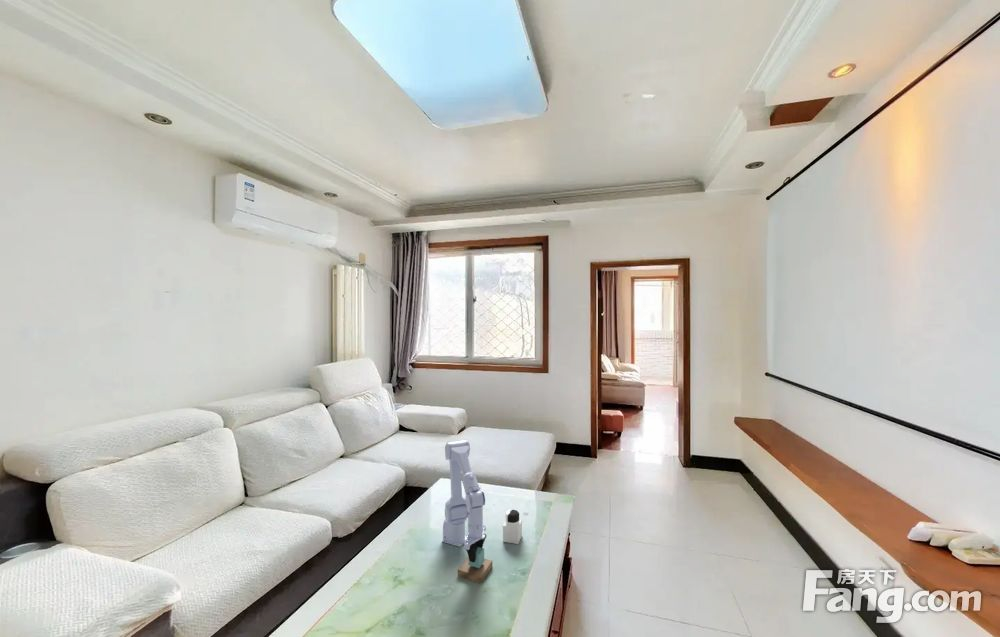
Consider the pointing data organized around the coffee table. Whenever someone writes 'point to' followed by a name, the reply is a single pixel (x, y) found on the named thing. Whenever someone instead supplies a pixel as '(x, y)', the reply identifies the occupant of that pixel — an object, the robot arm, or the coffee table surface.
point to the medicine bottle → (512, 527)
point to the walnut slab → (475, 570)
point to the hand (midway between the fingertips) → (475, 557)
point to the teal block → (478, 558)
